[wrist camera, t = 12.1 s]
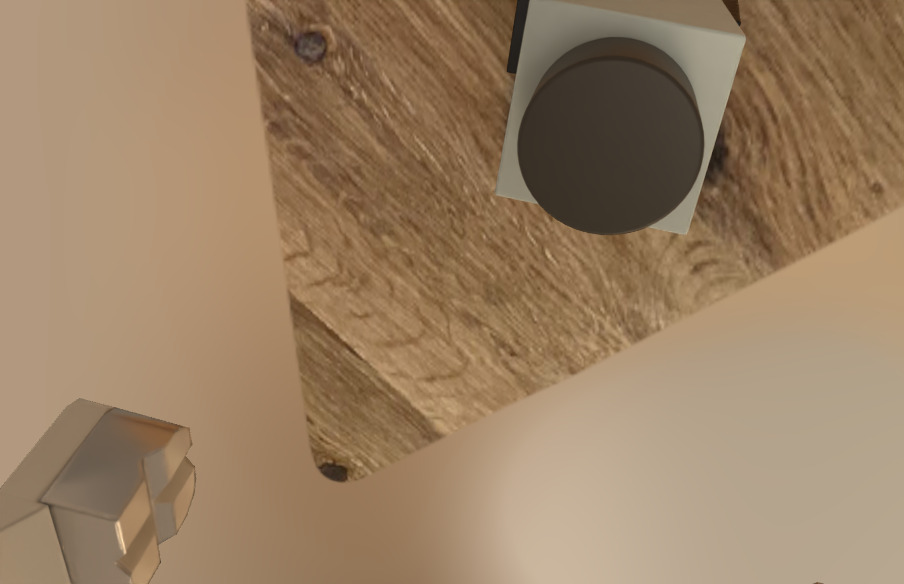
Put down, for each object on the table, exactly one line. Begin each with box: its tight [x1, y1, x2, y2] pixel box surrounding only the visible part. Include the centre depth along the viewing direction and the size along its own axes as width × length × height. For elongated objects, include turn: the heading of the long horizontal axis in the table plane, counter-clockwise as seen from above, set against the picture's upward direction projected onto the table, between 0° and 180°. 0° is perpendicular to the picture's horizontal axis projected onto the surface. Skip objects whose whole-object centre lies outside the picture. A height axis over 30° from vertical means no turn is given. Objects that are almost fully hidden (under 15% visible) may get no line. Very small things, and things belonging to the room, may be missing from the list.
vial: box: [495, 0, 746, 235], centre depth 22 cm, size 16×4×4 cm
